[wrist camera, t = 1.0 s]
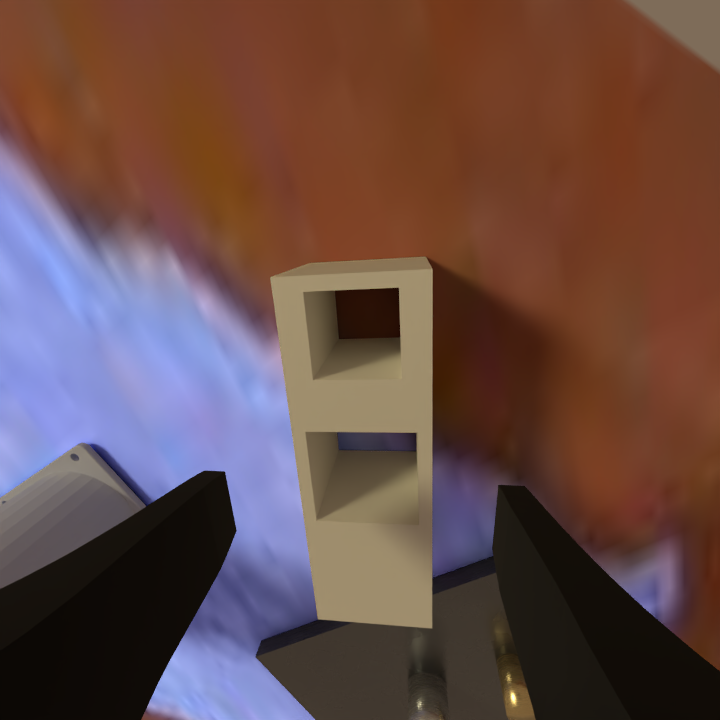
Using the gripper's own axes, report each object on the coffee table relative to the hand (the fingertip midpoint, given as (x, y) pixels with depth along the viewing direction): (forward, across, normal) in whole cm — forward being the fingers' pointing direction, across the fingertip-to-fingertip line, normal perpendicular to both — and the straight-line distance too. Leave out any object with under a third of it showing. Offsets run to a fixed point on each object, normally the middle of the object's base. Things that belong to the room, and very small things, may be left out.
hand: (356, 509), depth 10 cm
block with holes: (+9, 0, +2) cm, 9 cm away
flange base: (+8, -2, +20) cm, 22 cm away
